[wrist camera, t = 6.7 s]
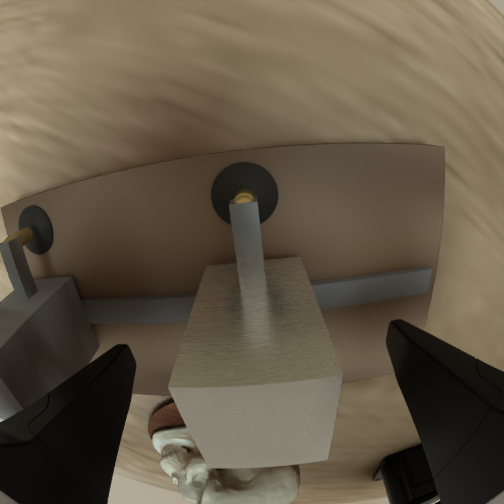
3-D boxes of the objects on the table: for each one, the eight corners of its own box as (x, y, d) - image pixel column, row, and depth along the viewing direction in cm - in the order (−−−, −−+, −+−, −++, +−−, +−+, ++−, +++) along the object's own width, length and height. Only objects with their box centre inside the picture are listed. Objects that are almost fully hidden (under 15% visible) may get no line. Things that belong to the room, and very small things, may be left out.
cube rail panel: (403, 351, 15) (457, 453, 8) (83, 371, 16) (36, 460, 9) (426, 144, 11) (568, 173, 3) (17, 200, 12) (-91, 255, 4)
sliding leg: (302, 339, 12) (327, 459, 7) (223, 346, 12) (209, 467, 7) (295, 182, 10) (352, 241, 4) (194, 193, 10) (123, 264, 4)
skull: (154, 468, 20) (122, 517, 10) (168, 369, 23) (134, 377, 14) (282, 486, 20) (311, 541, 10) (300, 390, 24) (345, 407, 14)
